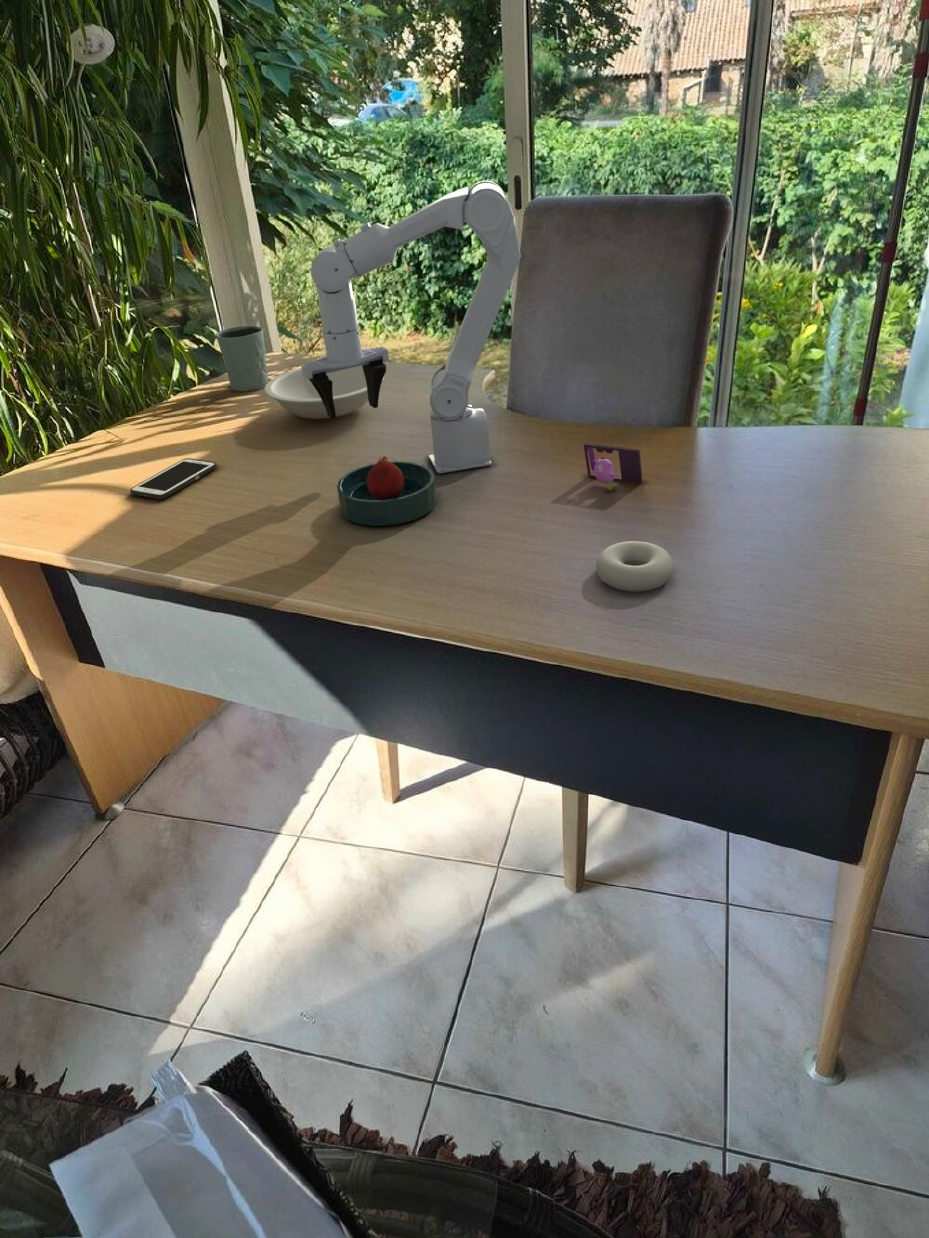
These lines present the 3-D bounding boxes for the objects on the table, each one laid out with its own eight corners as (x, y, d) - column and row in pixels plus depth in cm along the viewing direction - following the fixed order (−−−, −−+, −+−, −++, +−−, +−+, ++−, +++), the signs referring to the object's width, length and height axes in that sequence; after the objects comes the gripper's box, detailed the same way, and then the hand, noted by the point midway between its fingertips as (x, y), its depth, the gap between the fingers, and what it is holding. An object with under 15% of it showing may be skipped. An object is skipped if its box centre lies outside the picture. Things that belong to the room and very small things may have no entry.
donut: (660, 555, 119) (588, 562, 119) (662, 533, 117) (589, 539, 117) (682, 593, 111) (604, 600, 110) (684, 569, 109) (605, 576, 108)
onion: (401, 512, 135) (395, 464, 131) (365, 511, 136) (358, 464, 132) (410, 496, 140) (404, 449, 135) (376, 495, 141) (369, 449, 136)
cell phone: (129, 495, 149) (127, 489, 149) (187, 462, 160) (185, 457, 160) (162, 501, 146) (161, 495, 146) (219, 467, 157) (218, 462, 156)
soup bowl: (382, 429, 167) (378, 396, 164) (259, 438, 168) (252, 405, 165) (392, 389, 187) (388, 359, 184) (282, 397, 189) (276, 366, 185)
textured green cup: (221, 392, 194) (208, 338, 188) (238, 378, 203) (226, 325, 196) (263, 391, 193) (252, 337, 186) (279, 377, 201) (269, 324, 194)
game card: (641, 446, 134) (585, 440, 138) (630, 469, 131) (574, 462, 135) (643, 478, 139) (590, 471, 143) (634, 501, 136) (579, 493, 140)
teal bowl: (426, 480, 146) (423, 455, 143) (446, 518, 133) (443, 491, 131) (336, 495, 143) (331, 470, 141) (348, 535, 131) (343, 508, 128)
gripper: (372, 316, 145) (382, 395, 152) (289, 333, 139) (304, 414, 147) (389, 324, 139) (399, 406, 147) (304, 342, 134) (319, 426, 141)
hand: (353, 411), depth 146 cm, fingers open, 7 cm apart
